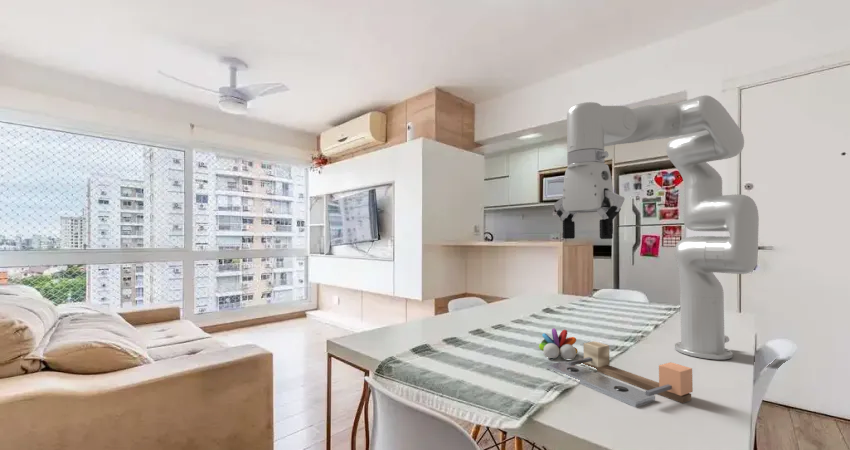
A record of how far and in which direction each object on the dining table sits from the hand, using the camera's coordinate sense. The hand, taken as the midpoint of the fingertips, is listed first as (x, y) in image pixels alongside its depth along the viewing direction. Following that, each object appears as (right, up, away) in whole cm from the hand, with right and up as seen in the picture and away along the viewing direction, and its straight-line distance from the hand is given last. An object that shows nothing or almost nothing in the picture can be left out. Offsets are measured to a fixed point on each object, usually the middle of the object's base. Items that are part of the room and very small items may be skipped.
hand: (586, 238), depth 81 cm
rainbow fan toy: (0, -32, +17) cm, 36 cm away
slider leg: (+11, -29, -10) cm, 33 cm away
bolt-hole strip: (+1, -31, -1) cm, 31 cm away
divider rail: (+6, -31, -1) cm, 32 cm away
